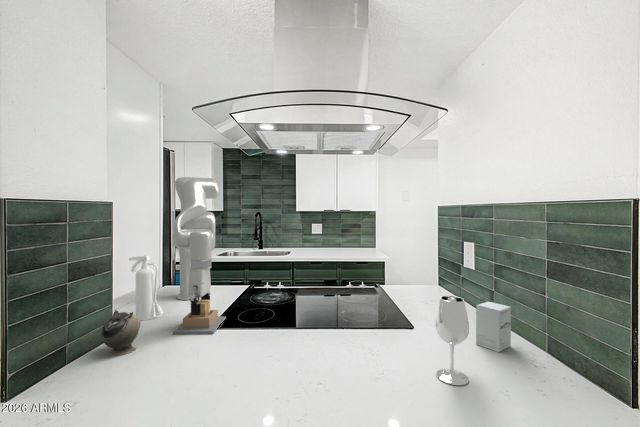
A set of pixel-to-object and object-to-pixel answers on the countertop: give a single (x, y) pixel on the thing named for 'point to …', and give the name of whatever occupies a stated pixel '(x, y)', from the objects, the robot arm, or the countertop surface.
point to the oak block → (204, 309)
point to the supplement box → (493, 326)
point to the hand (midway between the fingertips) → (200, 310)
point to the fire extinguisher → (146, 289)
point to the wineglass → (452, 334)
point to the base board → (200, 324)
